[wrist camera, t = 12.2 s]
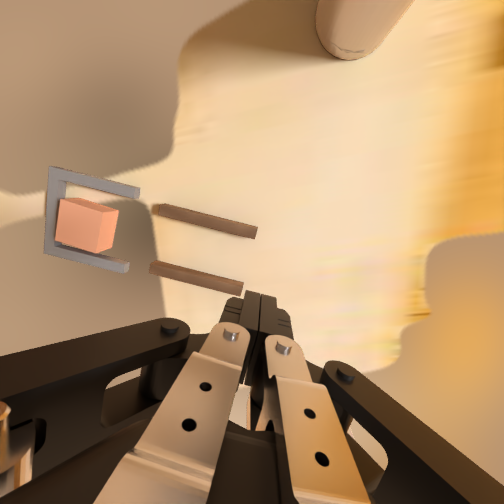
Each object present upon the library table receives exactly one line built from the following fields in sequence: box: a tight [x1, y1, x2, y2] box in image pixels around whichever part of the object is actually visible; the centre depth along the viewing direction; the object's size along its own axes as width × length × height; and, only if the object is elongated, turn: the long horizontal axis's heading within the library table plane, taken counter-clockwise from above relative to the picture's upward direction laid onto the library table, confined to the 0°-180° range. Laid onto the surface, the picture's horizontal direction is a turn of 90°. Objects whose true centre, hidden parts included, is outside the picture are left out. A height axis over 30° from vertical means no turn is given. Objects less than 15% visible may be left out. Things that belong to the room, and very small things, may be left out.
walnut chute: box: [149, 204, 258, 296], centre depth 39 cm, size 10×14×2 cm
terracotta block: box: [55, 198, 119, 253], centre depth 39 cm, size 6×6×4 cm
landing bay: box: [44, 166, 140, 273], centre depth 40 cm, size 13×12×2 cm
